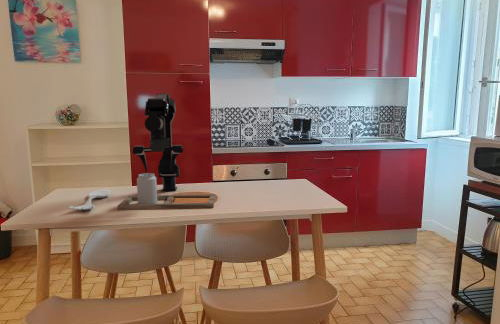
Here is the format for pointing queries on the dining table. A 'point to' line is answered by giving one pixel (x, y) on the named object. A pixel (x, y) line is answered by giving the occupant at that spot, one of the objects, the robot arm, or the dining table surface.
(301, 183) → the dining table surface
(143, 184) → the can
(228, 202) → the dining table surface
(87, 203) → the spoon
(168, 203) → the ladder rack
